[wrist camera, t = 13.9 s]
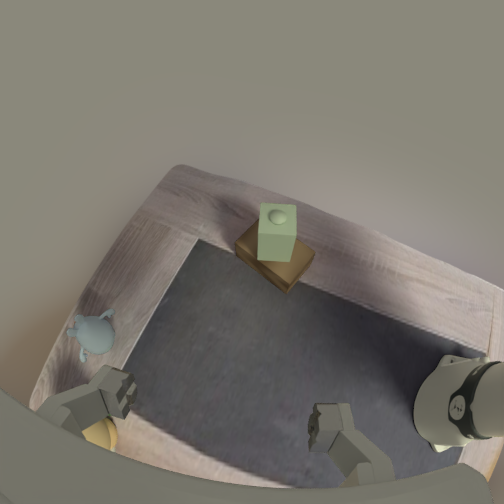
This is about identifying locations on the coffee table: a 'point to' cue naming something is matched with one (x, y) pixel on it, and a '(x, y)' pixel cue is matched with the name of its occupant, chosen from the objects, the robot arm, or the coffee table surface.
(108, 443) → the kitten
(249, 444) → the coffee table surface
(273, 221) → the green brick
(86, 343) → the toy figure
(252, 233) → the base brick
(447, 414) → the robot arm
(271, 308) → the coffee table surface
